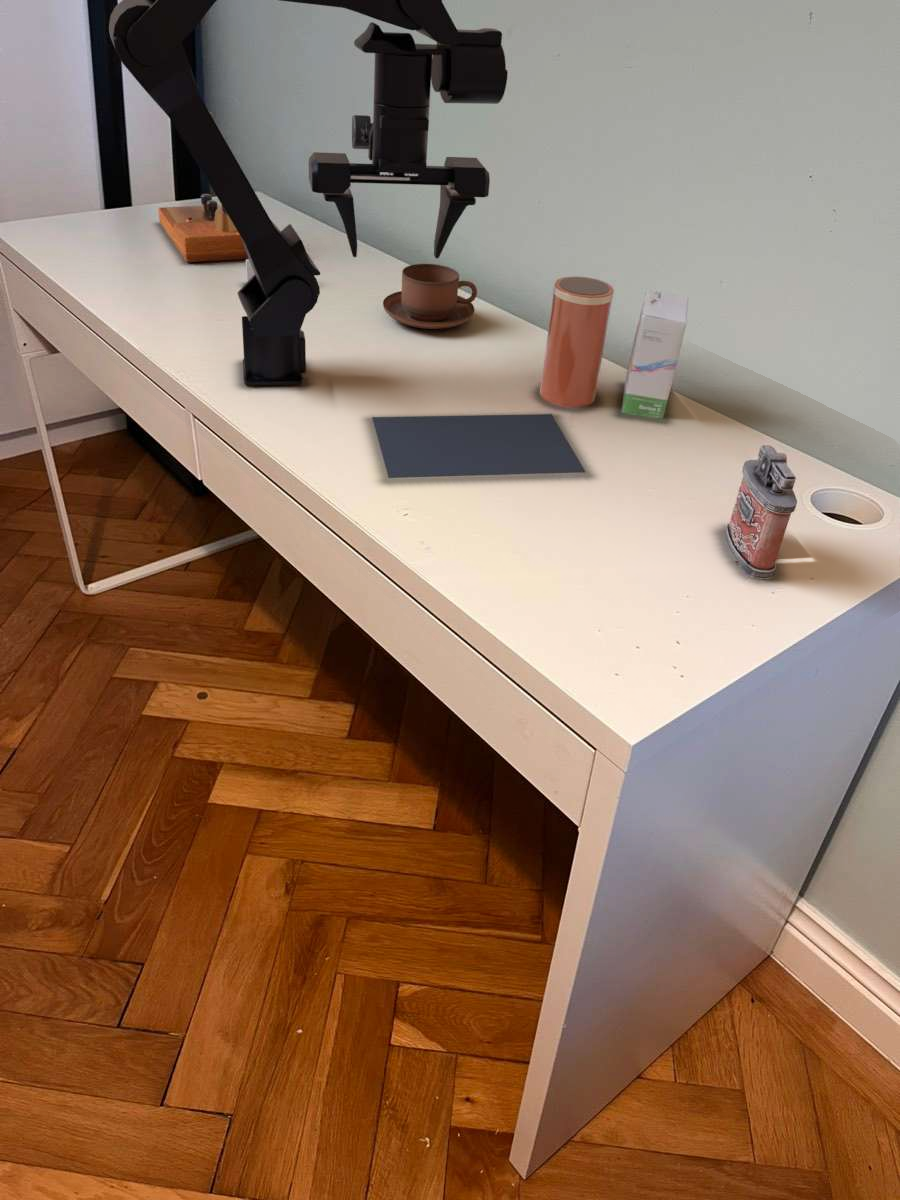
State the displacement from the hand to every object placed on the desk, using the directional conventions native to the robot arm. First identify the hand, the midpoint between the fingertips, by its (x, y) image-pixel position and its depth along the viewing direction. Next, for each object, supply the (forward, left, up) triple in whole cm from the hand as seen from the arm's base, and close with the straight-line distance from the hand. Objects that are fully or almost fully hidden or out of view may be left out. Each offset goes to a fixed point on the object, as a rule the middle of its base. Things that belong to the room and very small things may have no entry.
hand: (395, 256), depth 110 cm
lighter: (+27, -42, -13) cm, 52 cm away
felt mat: (+6, -20, -13) cm, 25 cm away
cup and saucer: (+7, +15, -13) cm, 21 cm away
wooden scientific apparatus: (-19, +42, -13) cm, 48 cm away
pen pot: (+19, -9, -13) cm, 25 cm away
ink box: (+28, -11, -13) cm, 33 cm away
